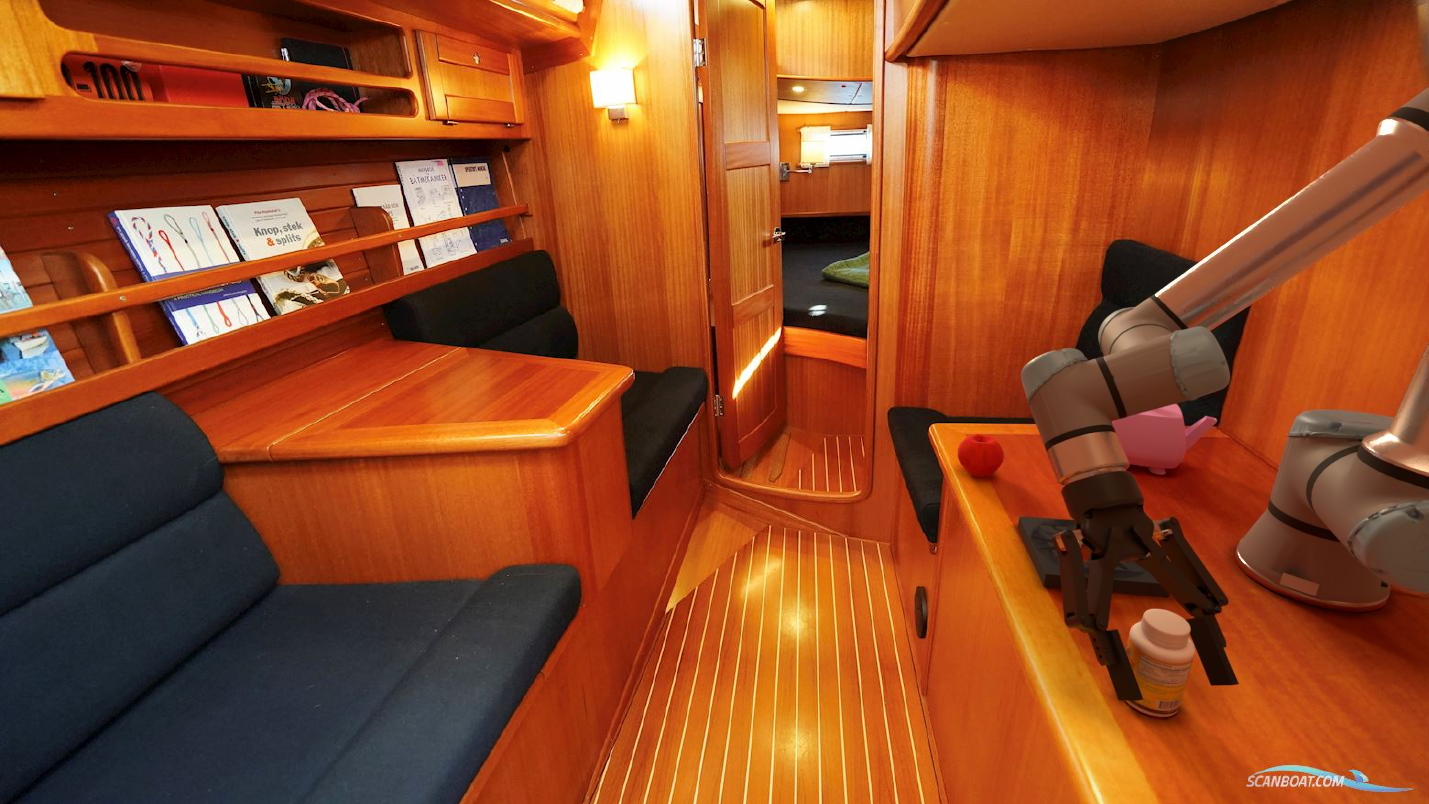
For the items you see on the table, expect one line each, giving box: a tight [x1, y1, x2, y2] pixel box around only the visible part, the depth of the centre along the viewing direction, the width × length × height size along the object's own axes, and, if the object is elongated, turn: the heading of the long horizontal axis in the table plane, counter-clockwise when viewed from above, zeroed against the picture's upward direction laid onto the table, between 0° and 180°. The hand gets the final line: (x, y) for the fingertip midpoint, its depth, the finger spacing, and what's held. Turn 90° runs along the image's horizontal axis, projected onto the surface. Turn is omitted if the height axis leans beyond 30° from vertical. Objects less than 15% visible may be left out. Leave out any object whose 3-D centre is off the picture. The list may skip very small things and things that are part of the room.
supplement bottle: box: [1125, 608, 1196, 718], centre depth 66 cm, size 6×6×10 cm
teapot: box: [1112, 403, 1218, 476], centre depth 116 cm, size 20×12×13 cm, turn 62°
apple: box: [957, 433, 1005, 478], centre depth 115 cm, size 8×8×7 cm
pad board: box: [1017, 515, 1170, 598], centre depth 91 cm, size 15×15×2 cm
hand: (1178, 692), depth 64 cm, fingers open, 10 cm apart
